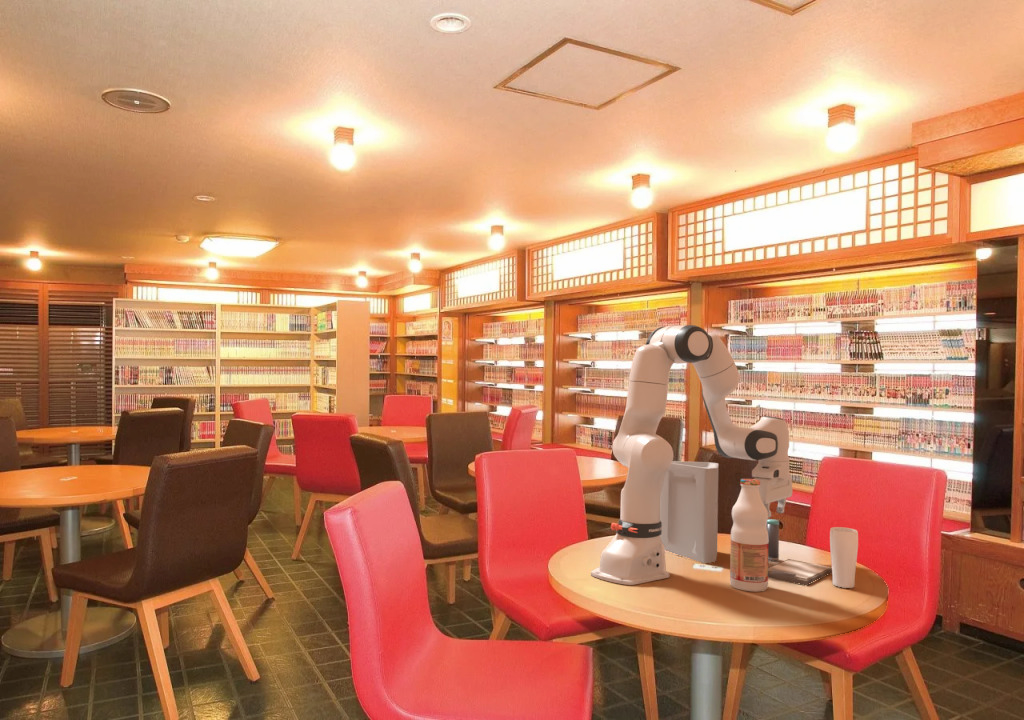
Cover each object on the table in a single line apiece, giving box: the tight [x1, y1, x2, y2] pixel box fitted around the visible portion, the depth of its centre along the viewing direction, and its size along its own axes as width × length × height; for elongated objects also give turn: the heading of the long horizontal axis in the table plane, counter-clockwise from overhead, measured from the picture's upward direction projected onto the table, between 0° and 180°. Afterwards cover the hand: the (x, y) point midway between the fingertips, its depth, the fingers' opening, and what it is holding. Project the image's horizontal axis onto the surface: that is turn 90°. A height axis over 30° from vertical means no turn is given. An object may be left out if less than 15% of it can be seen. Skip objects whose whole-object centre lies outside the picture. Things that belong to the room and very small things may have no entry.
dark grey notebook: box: [768, 558, 832, 586], centre depth 197 cm, size 20×13×2 cm, turn 136°
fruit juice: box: [729, 478, 769, 593], centre depth 183 cm, size 9×9×28 cm
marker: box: [766, 518, 780, 562], centre depth 212 cm, size 4×4×12 cm
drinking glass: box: [829, 526, 859, 589], centre depth 185 cm, size 7×7×15 cm
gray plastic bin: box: [660, 460, 719, 564], centre depth 217 cm, size 19×15×28 cm
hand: (773, 515), depth 212 cm, fingers open, 8 cm apart
